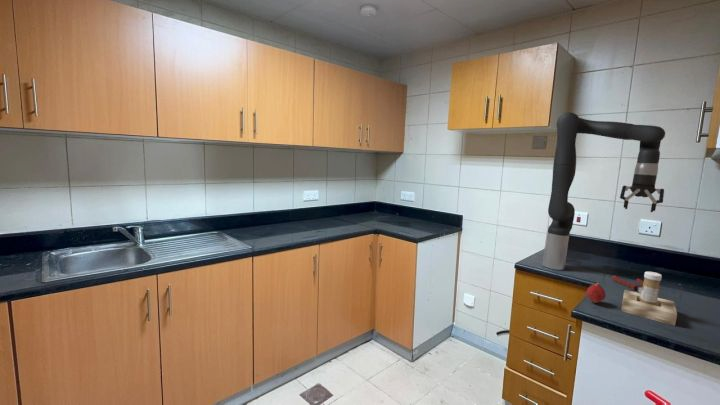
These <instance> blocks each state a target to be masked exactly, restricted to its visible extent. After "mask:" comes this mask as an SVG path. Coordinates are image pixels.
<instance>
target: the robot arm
mask: <svg viewBox="0 0 720 405" xmlns="http://www.w3.org/2000/svg"><path fill="white" fill-rule="evenodd" d="M556 133H557V134H556V135H557V136H556V137H557V138H556V139H557V140H556V141H557V142H556V148H555V152H554V159H553V164H552V165H553V168H552V179H551V180H552V182H551V193H550V198H549V202H548V208H547V209H548V210H547V213H548V216H549V218H550V219H551V220H552V221H551V223H550V225H549V226H548V228H547V234H546V240H545V247H544V248H543V256H542V263H541V266H542V267H546V268H548V269H550V270H551V269H552V270H558V271H559V270H560V271H562V270H565V266H566V259H567V252H568V247H569V239H570V233H571V231H572V230H573V224H574V221H575V220H574V219H575V215H576V214H575V212H576V211H575V206H574V205H573V203H571V202H569V198H568V197H569V192H570V188H571V186H572V184H573V182H574V179H575V175H576V169H577V149H576V140H577V135H578V134H583V135H584V134H586V135H594V136H599V137H605V138H611V139H617V140H625V141H630V140H631V141H637V142H639V150H638V151H639V152H638V155H637V161H636V164H635V168H634V172H633V176H632V183H631V186H629V185H625V184H624V185H623V186H622V187H621V192H620V195H619V196H620V197H619V198H620V199H621V200H623V201H624V202H623V208H624V209H625V210H628V207H629V206H628V205H629V202H630V201H629V200H630V199H632V198H633V197H634V196H635V197H639V198H641V197H642V198H649V199H650V201H651V202H652V203H651V206H650V213H653V212H655V211H656V208H657V204H662V203H663V202H664V196H665V189H664V188H656V184H657V182H656V181H657V177H658V172H659V162H660V158H661V157H660V156H661V151H660V148H661V141H662V140H663V139H665V137H666V131H665V129H664V128H663V127H661V126H657V125H652V124H651V125H650V124H649V125H648V124H633V123H628V122H621V121H619V122H618V121H606V120H605V121H601V120H591V119H585V118H582V117H579V116H578V115H577V113H574V112H572V111H571V112H568V111H567V112H564V113H562V114H561V115H560V116H559V117H558V119H557V121H556ZM628 190H630V191H631V193H630V194H629V195H627V196H625V193H626V192H627V191H628ZM656 192H657V194H658V195H659V196H658V197H659V198H658V199H655V197H654V196H653V194H654V193H656Z"/></svg>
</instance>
